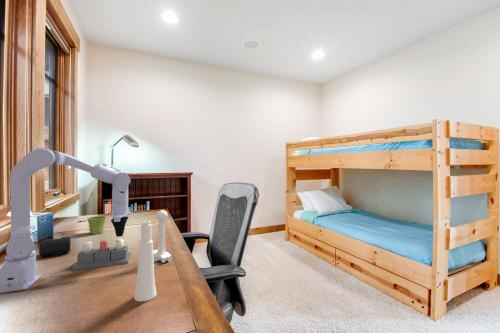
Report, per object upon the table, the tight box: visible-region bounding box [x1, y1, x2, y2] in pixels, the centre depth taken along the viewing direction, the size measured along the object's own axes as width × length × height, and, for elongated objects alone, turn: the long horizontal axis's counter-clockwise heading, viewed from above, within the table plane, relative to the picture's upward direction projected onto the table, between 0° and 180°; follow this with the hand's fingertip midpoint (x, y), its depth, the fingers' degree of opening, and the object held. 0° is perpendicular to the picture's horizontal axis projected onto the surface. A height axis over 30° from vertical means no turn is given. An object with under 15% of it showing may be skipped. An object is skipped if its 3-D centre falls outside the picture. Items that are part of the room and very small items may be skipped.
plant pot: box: [86, 215, 107, 235], centre depth 134 cm, size 9×9×9 cm
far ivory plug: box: [115, 238, 125, 250], centre depth 96 cm, size 3×3×5 cm
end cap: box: [38, 236, 71, 258], centre depth 101 cm, size 10×7×7 cm
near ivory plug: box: [82, 241, 93, 253], centre depth 92 cm, size 3×3×5 cm
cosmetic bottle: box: [133, 220, 157, 302], centre depth 70 cm, size 6×6×22 cm
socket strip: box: [72, 245, 132, 271], centre depth 94 cm, size 9×18×5 cm, turn 111°
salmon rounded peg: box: [99, 239, 109, 252], centre depth 94 cm, size 3×3×5 cm
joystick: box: [153, 209, 172, 264], centre depth 97 cm, size 11×8×20 cm
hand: (119, 235), depth 96 cm, fingers closed
